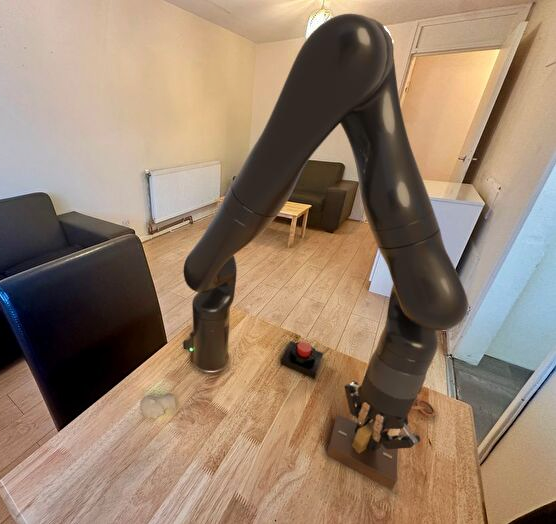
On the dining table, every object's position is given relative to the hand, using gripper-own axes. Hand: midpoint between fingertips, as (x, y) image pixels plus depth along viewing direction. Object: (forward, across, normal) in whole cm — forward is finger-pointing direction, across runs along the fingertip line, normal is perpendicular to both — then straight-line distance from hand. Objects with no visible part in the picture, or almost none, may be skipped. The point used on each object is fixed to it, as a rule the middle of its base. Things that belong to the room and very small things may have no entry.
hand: (365, 442), depth 55 cm
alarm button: (0, -23, +6) cm, 24 cm away
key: (+3, -2, +16) cm, 16 cm away
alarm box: (+3, -23, +6) cm, 24 cm away
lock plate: (+3, 0, 0) cm, 3 cm away
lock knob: (0, 0, 0) cm, 1 cm away
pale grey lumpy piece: (+4, -26, -34) cm, 42 cm away
